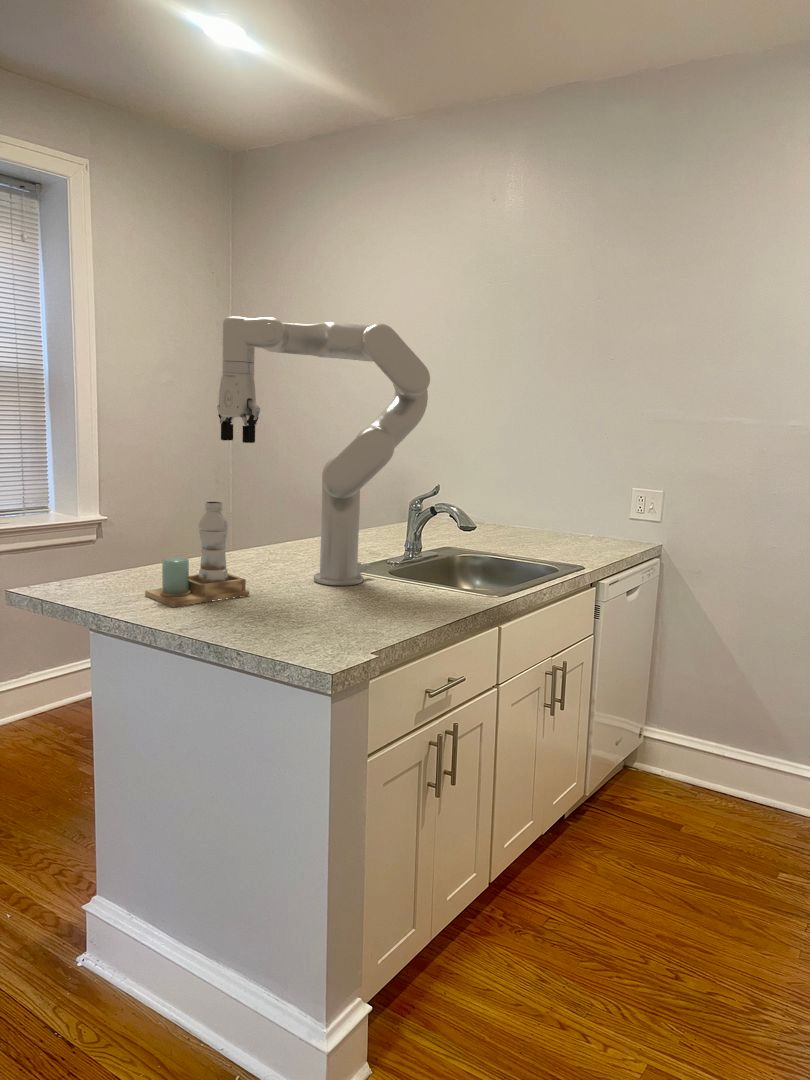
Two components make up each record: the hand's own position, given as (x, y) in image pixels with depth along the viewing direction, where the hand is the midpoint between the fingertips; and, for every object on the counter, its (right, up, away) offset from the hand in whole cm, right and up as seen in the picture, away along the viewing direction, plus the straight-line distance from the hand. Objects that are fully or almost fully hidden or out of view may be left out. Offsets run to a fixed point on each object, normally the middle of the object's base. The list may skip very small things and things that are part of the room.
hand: (237, 441), depth 196 cm
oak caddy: (-6, -37, -14) cm, 40 cm away
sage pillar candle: (-10, -36, -18) cm, 41 cm away
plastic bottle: (-3, -36, -12) cm, 38 cm away
